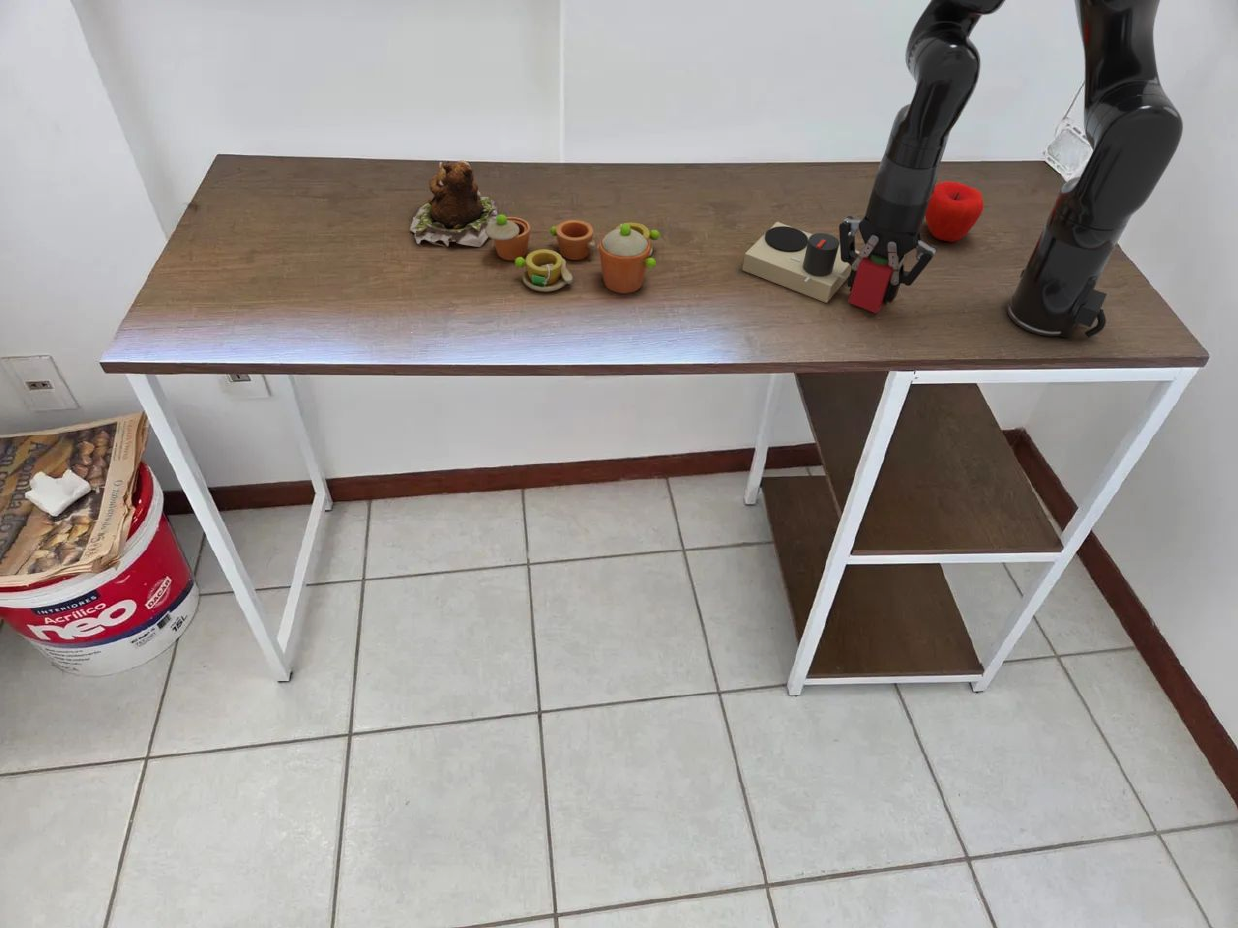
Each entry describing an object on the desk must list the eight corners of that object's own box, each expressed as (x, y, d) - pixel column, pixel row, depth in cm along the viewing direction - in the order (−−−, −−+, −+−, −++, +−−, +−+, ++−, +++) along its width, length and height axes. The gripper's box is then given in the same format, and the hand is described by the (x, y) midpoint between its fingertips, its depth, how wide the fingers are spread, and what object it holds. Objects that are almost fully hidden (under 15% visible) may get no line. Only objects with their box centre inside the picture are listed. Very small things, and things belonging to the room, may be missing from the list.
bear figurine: (507, 202, 143) (503, 130, 134) (489, 253, 133) (483, 179, 124) (425, 194, 144) (416, 122, 135) (401, 244, 133) (389, 171, 125)
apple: (905, 224, 143) (918, 180, 138) (951, 217, 146) (966, 173, 140) (934, 254, 138) (950, 209, 132) (981, 246, 140) (999, 202, 134)
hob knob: (809, 256, 130) (816, 227, 127) (837, 265, 129) (844, 237, 125) (797, 269, 128) (804, 241, 124) (825, 280, 126) (832, 251, 123)
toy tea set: (656, 239, 137) (660, 183, 130) (664, 298, 127) (669, 241, 120) (489, 237, 136) (484, 180, 129) (483, 297, 125) (478, 239, 118)
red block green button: (888, 296, 128) (903, 251, 122) (876, 313, 125) (891, 267, 120) (861, 286, 130) (874, 240, 124) (847, 302, 127) (861, 256, 121)
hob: (860, 270, 134) (865, 252, 132) (828, 309, 127) (833, 291, 124) (773, 238, 139) (777, 220, 137) (737, 274, 132) (740, 256, 129)
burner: (814, 237, 134) (815, 235, 134) (796, 257, 130) (797, 255, 130) (776, 223, 136) (776, 221, 136) (757, 242, 132) (757, 240, 132)
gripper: (841, 183, 115) (814, 290, 127) (946, 218, 110) (907, 326, 122) (862, 160, 119) (835, 266, 132) (964, 193, 114) (925, 300, 127)
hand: (870, 295), depth 127 cm, fingers closed on red block green button, 4 cm apart
